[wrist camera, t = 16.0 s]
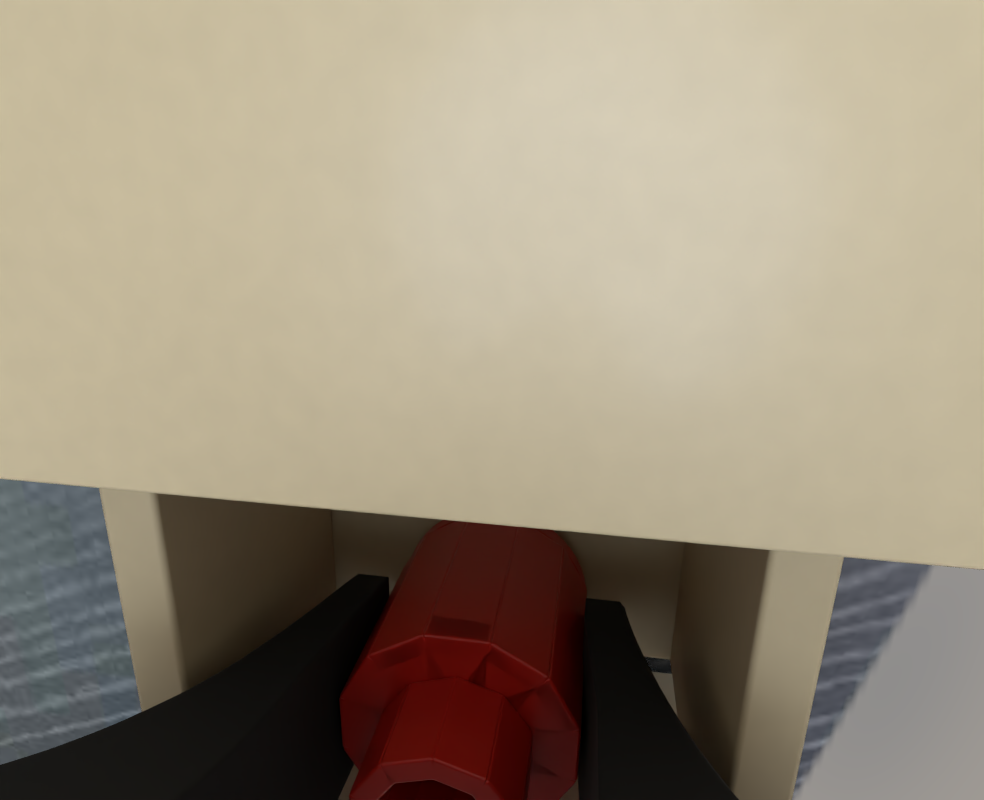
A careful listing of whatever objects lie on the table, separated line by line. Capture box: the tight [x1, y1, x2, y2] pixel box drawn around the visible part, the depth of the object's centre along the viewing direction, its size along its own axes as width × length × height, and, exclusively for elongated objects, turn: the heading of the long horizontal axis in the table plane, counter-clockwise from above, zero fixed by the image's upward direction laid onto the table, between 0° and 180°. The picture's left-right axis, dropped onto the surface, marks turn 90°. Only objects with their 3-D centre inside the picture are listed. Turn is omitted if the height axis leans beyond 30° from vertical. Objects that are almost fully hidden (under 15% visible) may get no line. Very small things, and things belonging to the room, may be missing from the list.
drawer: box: [99, 488, 844, 800], centre depth 13 cm, size 17×10×7 cm, turn 179°
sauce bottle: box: [339, 520, 587, 800], centre depth 11 cm, size 4×4×6 cm
